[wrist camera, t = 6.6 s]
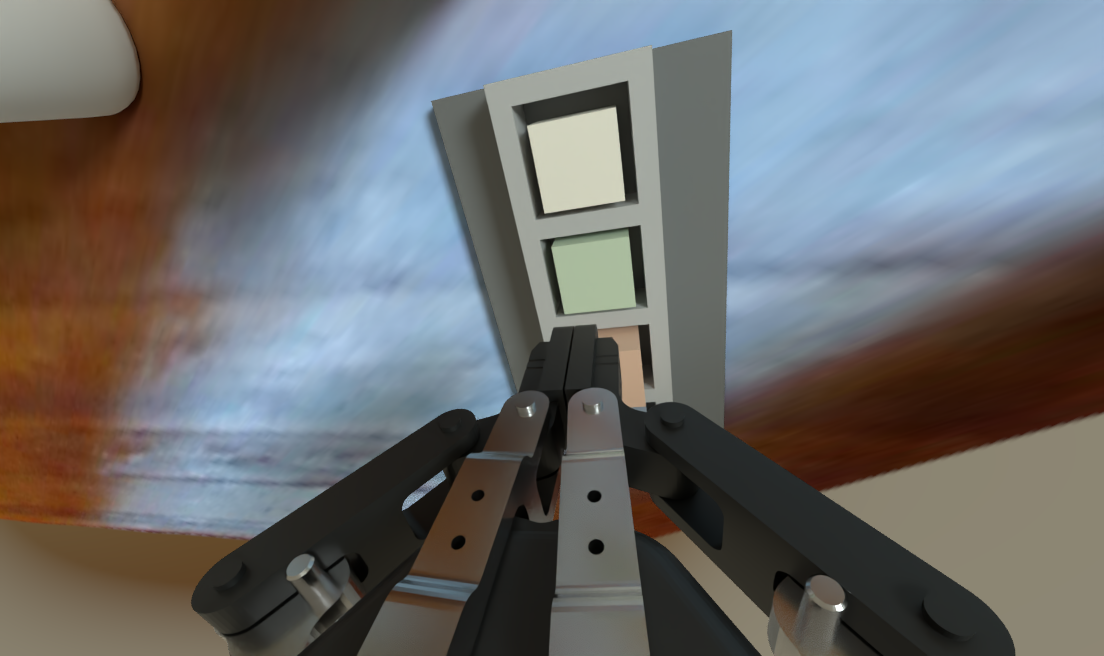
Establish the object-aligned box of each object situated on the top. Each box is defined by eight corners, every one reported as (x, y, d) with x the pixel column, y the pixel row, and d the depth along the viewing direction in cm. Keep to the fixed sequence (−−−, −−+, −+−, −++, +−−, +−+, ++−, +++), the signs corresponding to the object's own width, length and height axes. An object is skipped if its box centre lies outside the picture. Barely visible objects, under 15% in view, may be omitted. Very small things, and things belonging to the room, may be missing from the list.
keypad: (726, 32, 18) (748, 22, 15) (720, 429, 30) (732, 468, 27) (438, 100, 21) (409, 102, 18) (535, 437, 32) (527, 472, 30)
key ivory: (615, 104, 19) (615, 107, 17) (624, 187, 21) (625, 200, 18) (537, 121, 20) (527, 126, 17) (552, 199, 22) (544, 213, 19)
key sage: (627, 220, 22) (628, 236, 19) (633, 284, 23) (635, 306, 21) (558, 230, 22) (551, 247, 20) (569, 291, 24) (564, 314, 22)
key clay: (637, 322, 23) (640, 349, 21) (643, 375, 25) (645, 406, 22) (572, 329, 24) (567, 355, 21) (581, 380, 26) (578, 410, 23)
